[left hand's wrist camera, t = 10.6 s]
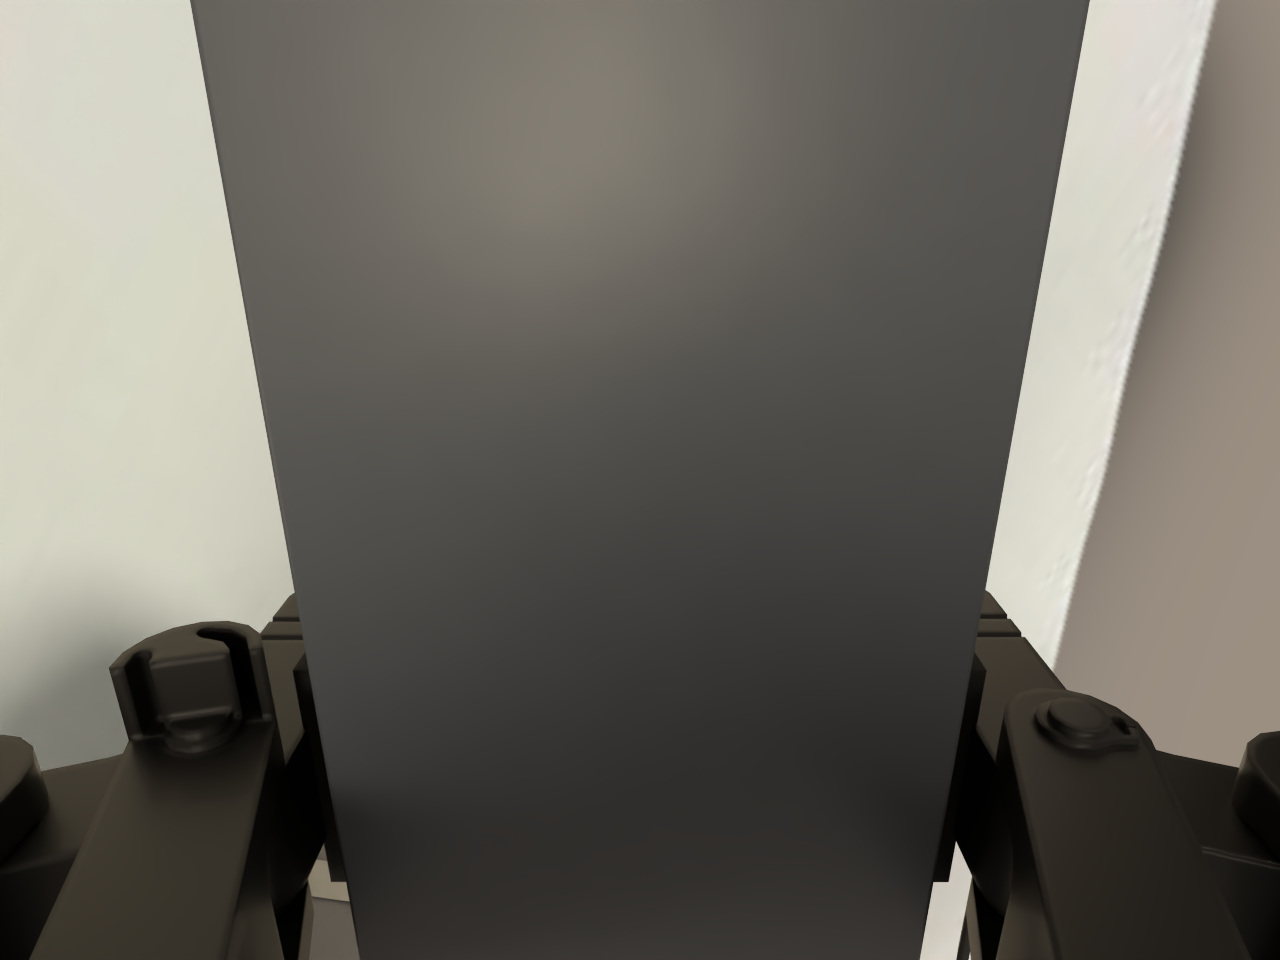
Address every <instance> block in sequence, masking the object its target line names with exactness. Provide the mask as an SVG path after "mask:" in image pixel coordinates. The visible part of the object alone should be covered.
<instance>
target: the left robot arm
mask: <svg viewBox="0 0 1280 960" xmlns="http://www.w3.org/2000/svg"><path fill="white" fill-rule="evenodd" d="M109 670H110V674H111V677H112V681H113V684H114V688H115V692H116V695H117V699H118V703H119V706H120V710H121V713H122V717H123V721H124V724H125V728H126V731H127V735H128V739H129V742H128V744H127V746H126V749H125V751H124V753H123V754H120V755H117V756H113V757H109V758H105V759H100V760H95V761H90V762H86V763H81V764H76V765H71V766H66V767H61V768H56V769H51V770H46V771H41V770H40V767H39V764H38V761H37V758H36V755H35V752H34V749H33V746H31V745H30V744H28V743H27V742H26V741H24V740H23V739H22V738H20V737H14V736H6V735H0V960H360V958H359V952H358V947H357V941H356V935H355V930H354V924H353V918H352V913H351V907H350V901H349V896H348V890H347V884H346V879H345V873H344V867H343V862H342V856H341V850H340V845H339V839H338V834H337V828H336V822H335V817H334V811H333V805H332V800H331V794H330V788H329V783H328V777H327V771H326V766H325V760H324V754H323V749H322V743H321V737H320V732H319V726H318V720H317V715H316V709H315V703H314V698H313V692H312V686H311V681H310V675H309V670H308V664H307V658H306V653H305V647H304V641H303V636H302V630H301V624H300V619H299V613H298V607H297V602H296V596H295V593H294V594H292V595H290V596H289V598H288V599H287V600H286V601H285V603H284V604H283V605H282V606H281V608H280V609H279V610H278V612H277V613H276V614H275V615H274V617H273V622H269V623H268V624H267V626H266V627H265V628H264V629H263V631H262V632H261V633H258V632H257V631H256V630H254V629H253V628H252V627H250V626H249V625H245V624H240V623H235V622H230V621H215V622H199V623H195V624H190V625H185V626H180V627H176V628H172V629H169V630H167V631H164V632H162V633H159V634H156V635H154V636H151V637H148V638H146V639H144V640H143V641H141V642H139V643H138V644H136V645H134V646H133V647H131V648H130V649H128V650H126V651H125V652H123V653H122V654H121V655H120V656H119V657H118V659H117V660H116V661H115V662H114V663H113V664H112V665H111V666H110V667H109ZM956 842H957V844H958V846H959V848H960V850H961V852H962V855H963V857H964V859H965V861H966V863H967V866H968V868H969V870H970V872H971V874H972V880H971V885H970V890H969V895H968V901H967V906H966V911H965V916H964V921H963V926H962V931H961V937H960V942H959V947H958V953H957V959H956V960H968V959H969V954H971V960H1280V731H1276V732H1268V733H1260V734H1259V735H1258V736H1256V737H1255V738H1254V739H1252V740H1251V741H1250V742H1248V743H1247V746H1246V749H1245V752H1244V755H1243V758H1242V761H1241V764H1240V767H1239V768H1237V767H1232V766H1227V765H1222V764H1217V763H1212V762H1207V761H1202V760H1197V759H1192V758H1188V757H1182V756H1178V755H1173V754H1169V753H1165V752H1162V751H1158V750H1156V749H1155V747H1154V745H1153V743H1152V740H1151V739H1150V738H1149V736H1148V735H1147V734H1146V732H1145V731H1144V730H1143V728H1142V727H1141V726H1140V725H1139V723H1138V722H1136V721H1135V720H1134V719H1132V718H1131V717H1129V716H1128V715H1127V714H1125V713H1124V712H1122V711H1121V710H1120V709H1118V708H1117V707H1115V706H1112V705H1110V704H1108V703H1106V702H1103V701H1101V700H1099V699H1097V698H1094V697H1092V696H1089V695H1085V694H1081V693H1077V692H1073V691H1069V690H1066V688H1065V687H1064V686H1063V685H1062V683H1061V682H1060V681H1059V680H1058V678H1057V677H1056V676H1055V674H1054V673H1053V672H1052V671H1051V669H1050V668H1049V667H1048V666H1047V664H1046V663H1045V662H1044V661H1043V659H1042V658H1041V657H1040V656H1039V654H1038V653H1037V652H1036V651H1035V649H1034V648H1033V647H1032V645H1031V644H1030V643H1029V642H1028V640H1027V639H1026V638H1025V637H1021V632H1020V630H1019V629H1018V628H1017V627H1016V625H1015V624H1014V623H1013V621H1012V620H1011V619H1007V614H1006V613H1005V611H1004V610H1003V609H1002V608H1001V606H1000V605H999V604H998V603H997V601H996V600H995V599H994V598H993V596H992V595H991V594H990V593H989V592H987V591H986V590H985V593H984V599H983V605H982V610H981V616H980V622H979V627H978V633H977V639H976V644H975V650H974V655H973V661H972V667H971V672H970V678H969V684H968V689H967V695H966V701H965V706H964V712H963V717H962V723H961V729H960V734H959V740H958V746H957V751H956V757H955V763H954V768H953V774H952V780H951V785H950V791H949V796H948V802H947V808H946V813H945V819H944V825H943V830H942V836H941V842H940V847H939V853H938V858H937V864H936V870H935V875H934V881H933V882H949V876H950V871H951V865H952V860H953V854H954V849H955V843H956Z"/></svg>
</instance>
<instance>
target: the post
mask: <svg viewBox="0 0 1280 960" xmlns="http://www.w3.org/2000/svg"><path fill="white" fill-rule="evenodd" d="M1089 1H1090V0H190V2H191V8H192V13H193V19H194V25H195V30H196V36H197V42H198V47H199V53H200V59H201V64H202V70H203V76H204V81H205V87H206V93H207V98H208V104H209V110H210V115H211V121H212V127H213V132H214V138H215V143H216V149H217V155H218V160H219V166H220V172H221V177H222V183H223V189H224V194H225V200H226V206H227V211H228V217H229V223H230V228H231V234H232V240H233V245H234V251H235V257H236V262H237V268H238V274H239V279H240V285H241V291H242V296H243V302H244V308H245V313H246V319H247V324H248V330H249V336H250V341H251V347H252V353H253V358H254V364H255V370H256V375H257V381H258V387H259V392H260V398H261V404H262V409H263V415H264V421H265V426H266V432H267V438H268V443H269V449H270V455H271V460H272V466H273V472H274V477H275V483H276V489H277V494H278V500H279V505H280V511H281V517H282V522H283V528H284V534H285V539H286V545H287V551H288V556H289V562H290V568H291V573H292V579H293V585H294V590H295V596H296V602H297V607H298V613H299V619H300V624H301V630H302V636H303V641H304V647H305V653H306V658H307V664H308V670H309V675H310V681H311V686H312V692H313V698H314V703H315V709H316V715H317V720H318V726H319V732H320V737H321V743H322V749H323V754H324V760H325V766H326V771H327V777H328V783H329V788H330V794H331V800H332V805H333V811H334V817H335V822H336V828H337V834H338V839H339V845H340V850H341V856H342V862H343V867H344V873H345V879H346V884H347V890H348V896H349V901H350V907H351V913H352V918H353V924H354V930H355V935H356V941H357V947H358V952H359V958H360V960H920V954H921V949H922V943H923V937H924V932H925V926H926V920H927V915H928V909H929V904H930V898H931V892H932V887H933V881H934V875H935V870H936V864H937V858H938V853H939V847H940V842H941V836H942V830H943V825H944V819H945V813H946V808H947V802H948V796H949V791H950V785H951V780H952V774H953V768H954V763H955V757H956V751H957V746H958V740H959V734H960V729H961V723H962V717H963V712H964V706H965V701H966V695H967V689H968V684H969V678H970V672H971V667H972V661H973V655H974V650H975V644H976V639H977V633H978V627H979V622H980V616H981V610H982V605H983V599H984V593H985V588H986V582H987V577H988V571H989V565H990V560H991V554H992V548H993V543H994V537H995V531H996V526H997V520H998V515H999V509H1000V503H1001V498H1002V492H1003V486H1004V481H1005V475H1006V469H1007V464H1008V458H1009V452H1010V447H1011V441H1012V436H1013V430H1014V424H1015V419H1016V413H1017V407H1018V402H1019V396H1020V390H1021V385H1022V379H1023V374H1024V368H1025V362H1026V357H1027V351H1028V345H1029V340H1030V334H1031V328H1032V323H1033V317H1034V312H1035V306H1036V300H1037V295H1038V289H1039V283H1040V278H1041V272H1042V266H1043V261H1044V255H1045V250H1046V244H1047V238H1048V233H1049V227H1050V221H1051V216H1052V210H1053V204H1054V199H1055V193H1056V187H1057V182H1058V176H1059V171H1060V165H1061V159H1062V154H1063V148H1064V142H1065V137H1066V131H1067V125H1068V120H1069V114H1070V109H1071V103H1072V97H1073V92H1074V86H1075V80H1076V75H1077V69H1078V63H1079V58H1080V52H1081V47H1082V41H1083V35H1084V30H1085V24H1086V18H1087V13H1088V7H1089Z"/></svg>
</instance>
